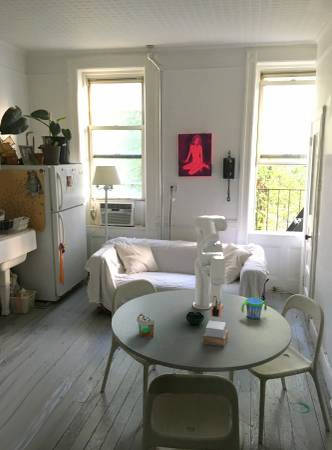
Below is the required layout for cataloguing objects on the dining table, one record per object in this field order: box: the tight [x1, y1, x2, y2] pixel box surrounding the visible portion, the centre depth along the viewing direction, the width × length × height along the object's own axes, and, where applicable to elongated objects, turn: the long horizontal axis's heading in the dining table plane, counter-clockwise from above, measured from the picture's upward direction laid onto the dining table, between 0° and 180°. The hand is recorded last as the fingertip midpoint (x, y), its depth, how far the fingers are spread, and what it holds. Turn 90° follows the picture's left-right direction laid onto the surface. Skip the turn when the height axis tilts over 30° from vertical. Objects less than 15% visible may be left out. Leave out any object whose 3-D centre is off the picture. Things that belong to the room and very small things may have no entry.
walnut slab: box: [202, 328, 229, 347], centre depth 203 cm, size 11×11×4 cm
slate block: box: [205, 320, 227, 338], centre depth 202 cm, size 9×9×4 cm
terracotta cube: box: [209, 302, 224, 319], centre depth 199 cm, size 6×6×6 cm
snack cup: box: [240, 297, 268, 320], centre depth 231 cm, size 16×10×10 cm
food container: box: [136, 312, 156, 339], centre depth 207 cm, size 12×6×10 cm, turn 37°
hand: (216, 313), depth 199 cm, fingers closed on terracotta cube, 5 cm apart
